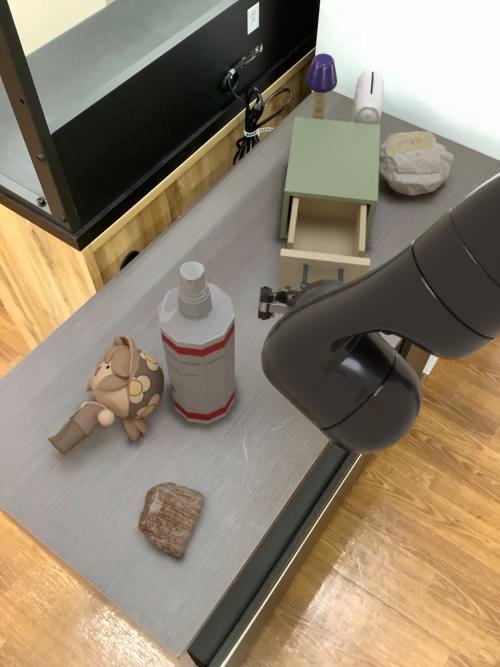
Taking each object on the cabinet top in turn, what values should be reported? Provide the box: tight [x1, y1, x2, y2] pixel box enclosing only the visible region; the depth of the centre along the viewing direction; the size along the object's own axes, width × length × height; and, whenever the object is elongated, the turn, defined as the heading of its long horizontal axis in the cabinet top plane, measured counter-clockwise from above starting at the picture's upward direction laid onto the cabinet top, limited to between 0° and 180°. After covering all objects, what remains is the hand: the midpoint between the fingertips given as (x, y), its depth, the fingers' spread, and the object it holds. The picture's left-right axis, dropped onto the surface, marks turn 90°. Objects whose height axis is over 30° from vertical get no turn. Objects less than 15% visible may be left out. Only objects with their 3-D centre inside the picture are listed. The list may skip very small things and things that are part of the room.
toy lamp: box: [305, 52, 338, 119], centre depth 96 cm, size 5×5×17 cm
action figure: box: [47, 334, 165, 456], centre depth 72 cm, size 10×11×15 cm
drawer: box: [276, 196, 371, 290], centre depth 85 cm, size 19×11×8 cm, turn 172°
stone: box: [138, 481, 205, 557], centre depth 68 cm, size 7×6×5 cm
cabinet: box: [279, 115, 381, 248], centre depth 92 cm, size 16×13×10 cm
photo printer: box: [349, 67, 385, 125], centre depth 98 cm, size 10×4×12 cm, turn 171°
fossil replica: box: [379, 130, 455, 196], centre depth 96 cm, size 12×8×10 cm
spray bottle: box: [157, 260, 236, 425], centre depth 67 cm, size 8×8×25 cm
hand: (323, 299), depth 72 cm, fingers open, 8 cm apart
